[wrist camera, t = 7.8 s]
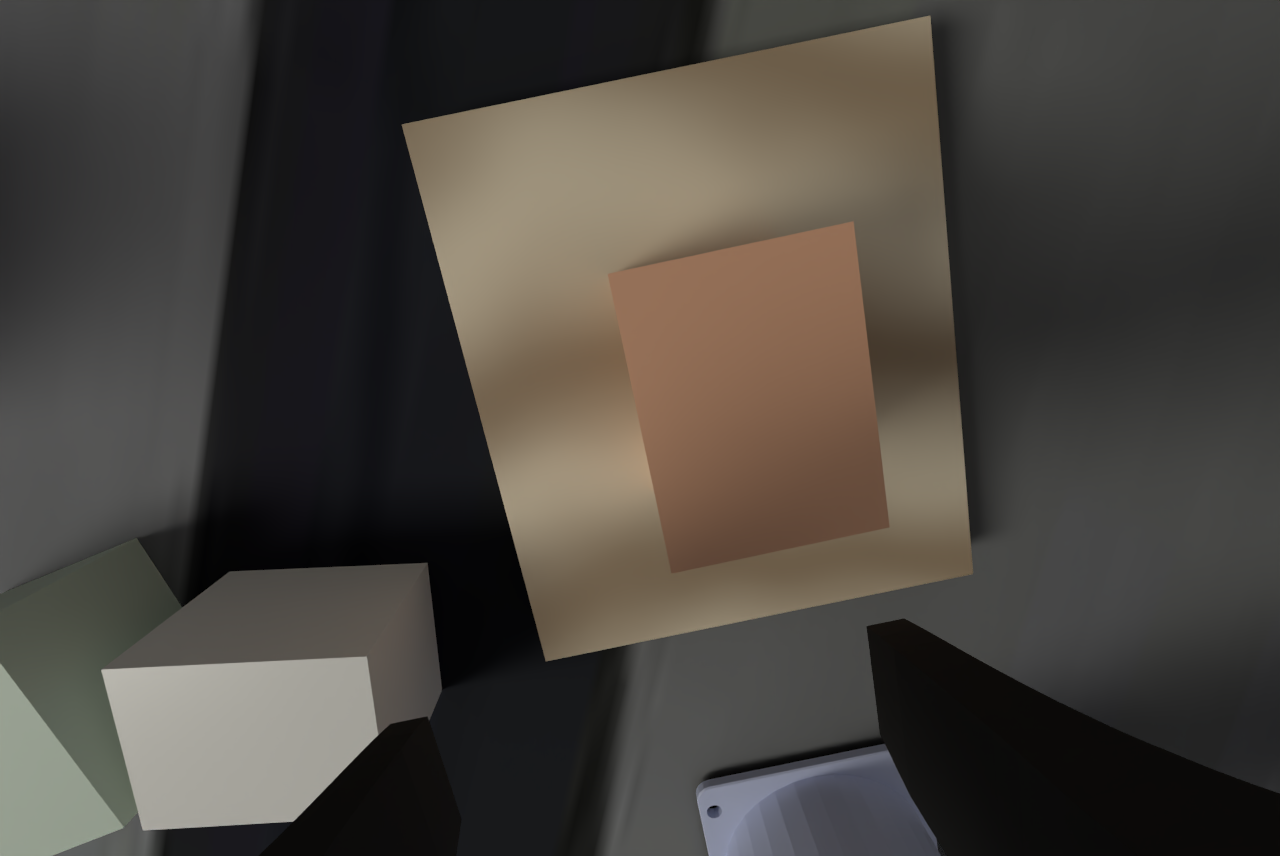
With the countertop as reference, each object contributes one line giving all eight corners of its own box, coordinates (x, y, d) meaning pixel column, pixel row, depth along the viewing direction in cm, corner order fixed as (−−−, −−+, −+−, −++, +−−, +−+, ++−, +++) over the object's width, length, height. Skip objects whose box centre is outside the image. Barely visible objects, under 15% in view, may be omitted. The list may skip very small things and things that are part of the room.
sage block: (242, 695, 20) (124, 827, 15) (119, 744, 20) (-37, 890, 15) (138, 536, 19) (-29, 626, 14) (7, 590, 19) (-203, 697, 14)
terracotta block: (811, 458, 17) (889, 527, 12) (654, 491, 17) (671, 573, 12) (779, 239, 16) (853, 221, 11) (608, 276, 16) (607, 273, 11)
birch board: (946, 552, 20) (972, 573, 18) (550, 633, 20) (546, 661, 18) (901, 39, 16) (930, 15, 15) (420, 138, 16) (401, 124, 15)
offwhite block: (428, 561, 19) (366, 656, 14) (442, 687, 20) (389, 815, 15) (231, 570, 19) (101, 669, 14) (256, 697, 20) (142, 830, 15)
